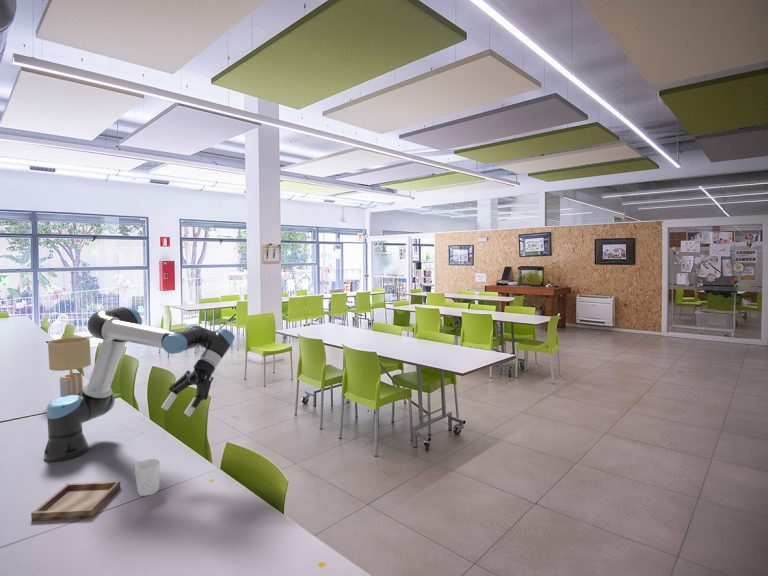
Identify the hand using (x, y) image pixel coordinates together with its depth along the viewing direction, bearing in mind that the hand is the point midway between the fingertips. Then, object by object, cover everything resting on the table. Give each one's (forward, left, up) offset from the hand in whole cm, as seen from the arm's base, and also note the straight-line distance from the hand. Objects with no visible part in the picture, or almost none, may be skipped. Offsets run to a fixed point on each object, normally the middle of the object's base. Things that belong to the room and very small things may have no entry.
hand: (175, 411), depth 163 cm
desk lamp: (-94, +96, -26) cm, 137 cm away
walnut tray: (-26, -15, -25) cm, 40 cm away
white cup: (-6, -9, -26) cm, 28 cm away
